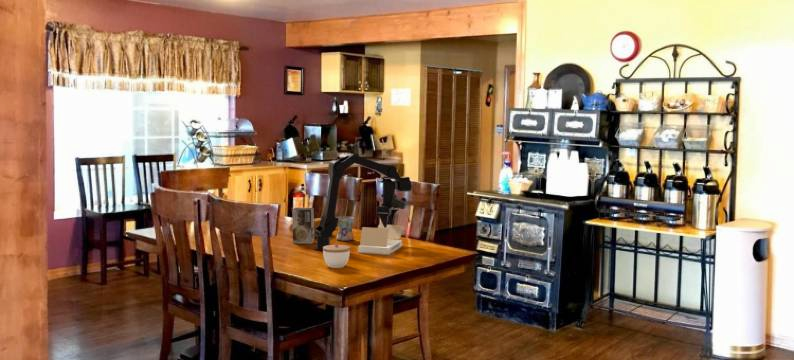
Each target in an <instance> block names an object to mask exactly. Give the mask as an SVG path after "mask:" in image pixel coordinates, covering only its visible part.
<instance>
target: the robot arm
mask: <svg viewBox="0 0 794 360" xmlns="http://www.w3.org/2000/svg"><path fill="white" fill-rule="evenodd" d="M354 164H356V165H359V166H361V167H364V168H367V169H370V170H372V171H375V172H376V173H378V174H379V175H381V176H382V177H381V178H380V179H379V180H378V183H380V184H382V194H381V195H380V197H381V198H382V203H381V204H380V205H377V207H376V209H375V212H376V213H377V215H378V217H379V219H380V221H381V224H383V226H384V227H385V228H386V227H387V225H388V223H389V225H394V220H395V217H396V213H397V212H399V210H404V209H406V207H407V206H408V200H407V197H405V196H404V197H402V198H398V195H397V193H405V192H406V193H407V192H408V193H409V192H410V193H411V191H412V188H413V187H412V182H411V179H410V177H409V176H404V177H403V176H400V174H399V173H398V170H397V167H396V166H395V165H391V164H385V163H379V162H377V161H374V160H371V159H369V158H365V157H363V156H360V155H358V154H356V153H349V154H348V155H345V156H344V157H342V158H339V159H333V160H331V161H329V162H328V168H327V169H328V177H329V183H328V188H327V189H328V190H327V195H326V201H325V207H324V208H325V209H324V212H323V214H322V215H321V217H320V218H321V221H320V225H319V226H318V227H317V228H316V229H315V233H316V234H317V237H316V244H317V245H316V248H314V249H313V250H314V251H323V247H324V246H327V245H331V238H332V236H333V233H334V232H335V231H336V229H337V228H338V225H337V223H338V219H339V218H338V217H339V216H336V208H337V200H338V195H339V188H340V187H339V186H340V182H341V180H342V178H343V176H344V173H345V171H346V169H348V168H350V167H352V165H354ZM396 192H397V193H396Z"/></svg>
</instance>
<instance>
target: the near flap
mask: <svg viewBox="0 0 794 360" xmlns="http://www.w3.org/2000/svg"><path fill="white" fill-rule="evenodd" d="M388 231H389V229H386V228H378V227H369V226H367V227H365V226H363V227H361V235H360V241H359V244H360V245H363V246H377V247H387V240H388Z"/></svg>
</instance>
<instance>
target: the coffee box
mask: <svg viewBox="0 0 794 360" xmlns="http://www.w3.org/2000/svg"><path fill="white" fill-rule="evenodd" d="M291 211H292V223H293V233H292V244H299V245H300V244H303V245H304V244H306V245H307V244H308V245H309V244H310V245H312V244H313V243H314V242H315V237H314V219H315V208H314V207H294V208H293V209H292V210H291Z"/></svg>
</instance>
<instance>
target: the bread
mask: <svg viewBox="0 0 794 360" xmlns="http://www.w3.org/2000/svg"><path fill="white" fill-rule="evenodd" d="M321 218H322V217H317V218H315V217H314V238H317V234H316V233H315V229H316V228H317V227H318V226H319V225H320V221H321ZM288 230H289V231H290V232H291V233H292V234H293V222H291V224H290V225H289V228H288Z"/></svg>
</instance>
